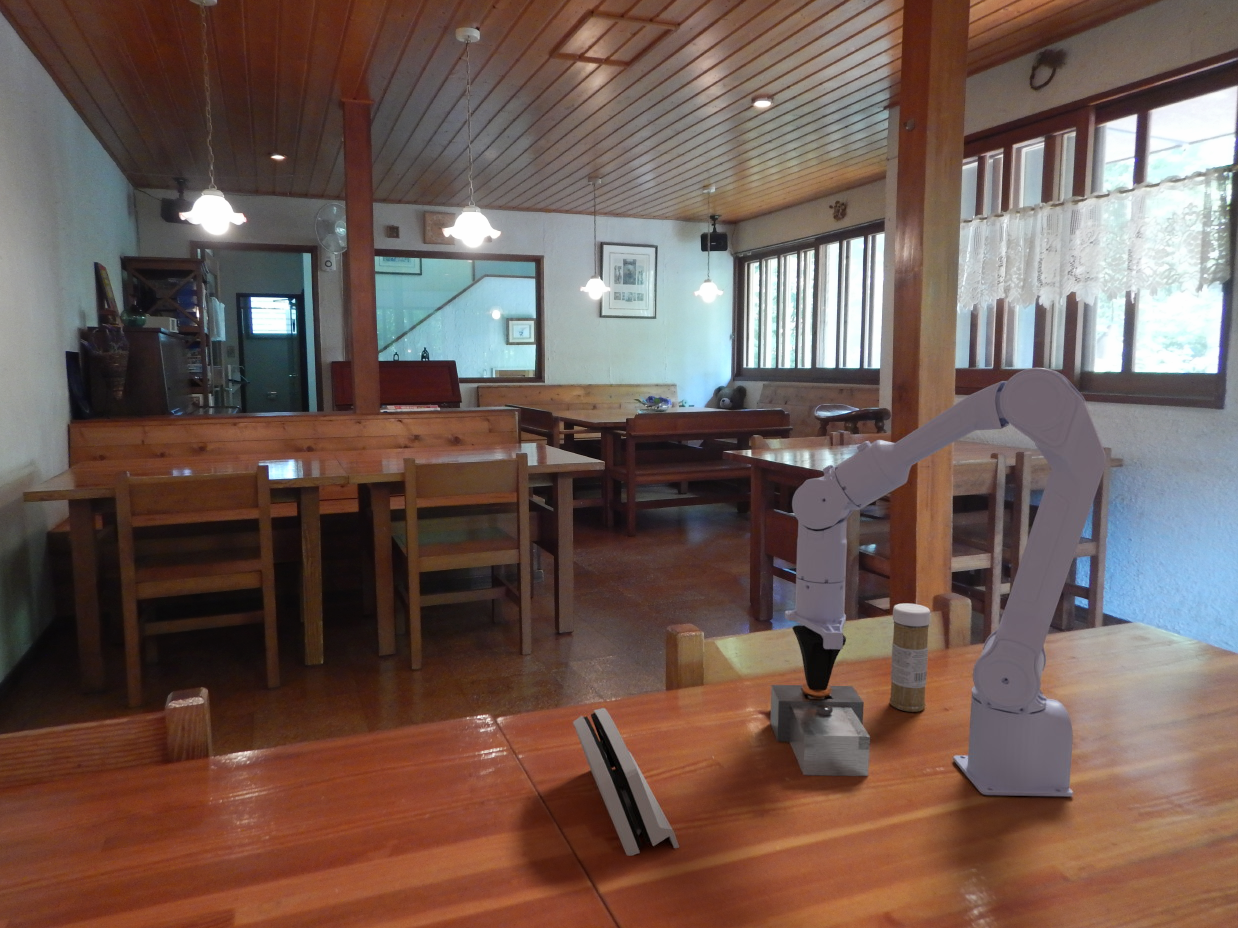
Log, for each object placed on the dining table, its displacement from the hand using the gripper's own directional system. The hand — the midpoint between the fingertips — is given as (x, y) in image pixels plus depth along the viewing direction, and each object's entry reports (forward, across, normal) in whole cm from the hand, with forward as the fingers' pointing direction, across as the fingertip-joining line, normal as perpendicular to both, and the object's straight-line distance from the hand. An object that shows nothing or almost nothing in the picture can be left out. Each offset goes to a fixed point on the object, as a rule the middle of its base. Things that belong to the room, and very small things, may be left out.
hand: (816, 687), depth 97 cm
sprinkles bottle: (+6, -9, +14) cm, 17 cm away
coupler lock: (+6, +6, 0) cm, 9 cm away
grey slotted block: (+6, +18, -24) cm, 30 cm away
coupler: (+6, 0, 0) cm, 6 cm away
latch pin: (+4, 0, 0) cm, 4 cm away
